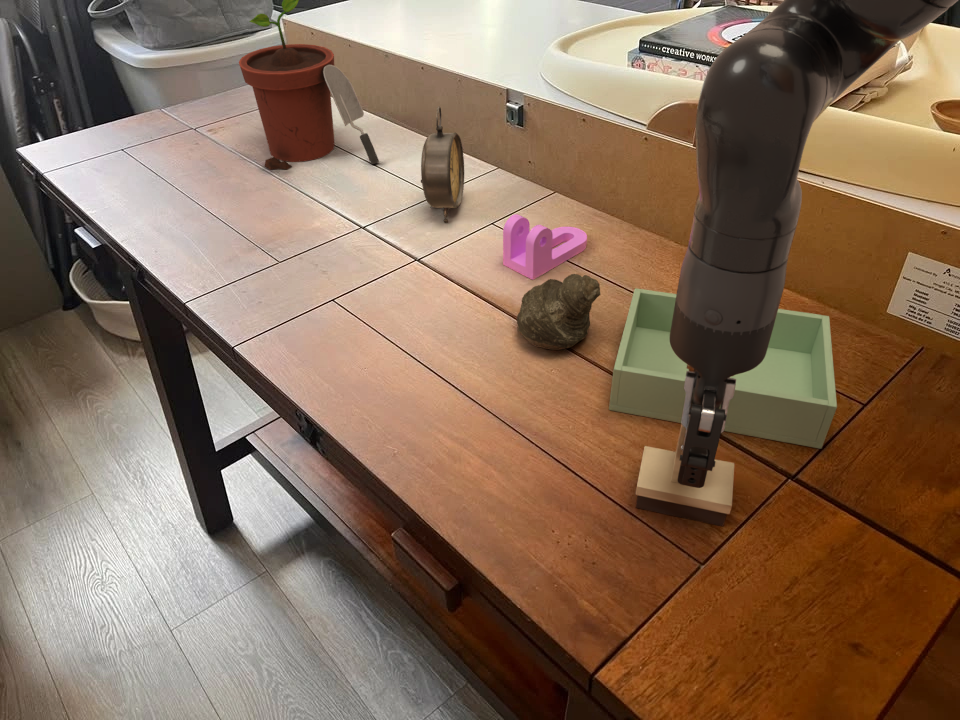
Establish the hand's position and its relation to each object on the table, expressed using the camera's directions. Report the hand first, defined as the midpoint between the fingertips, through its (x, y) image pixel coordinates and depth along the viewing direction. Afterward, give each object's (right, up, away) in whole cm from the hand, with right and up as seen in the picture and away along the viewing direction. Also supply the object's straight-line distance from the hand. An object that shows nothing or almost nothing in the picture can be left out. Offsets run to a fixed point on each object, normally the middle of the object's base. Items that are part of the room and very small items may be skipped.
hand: (694, 448), depth 68 cm
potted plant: (-49, +45, +68) cm, 95 cm away
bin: (+7, +5, +17) cm, 19 cm away
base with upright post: (0, -5, +4) cm, 7 cm away
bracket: (-9, +23, +39) cm, 46 cm away
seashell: (-11, +12, +26) cm, 31 cm away
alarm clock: (-25, +31, +50) cm, 64 cm away
